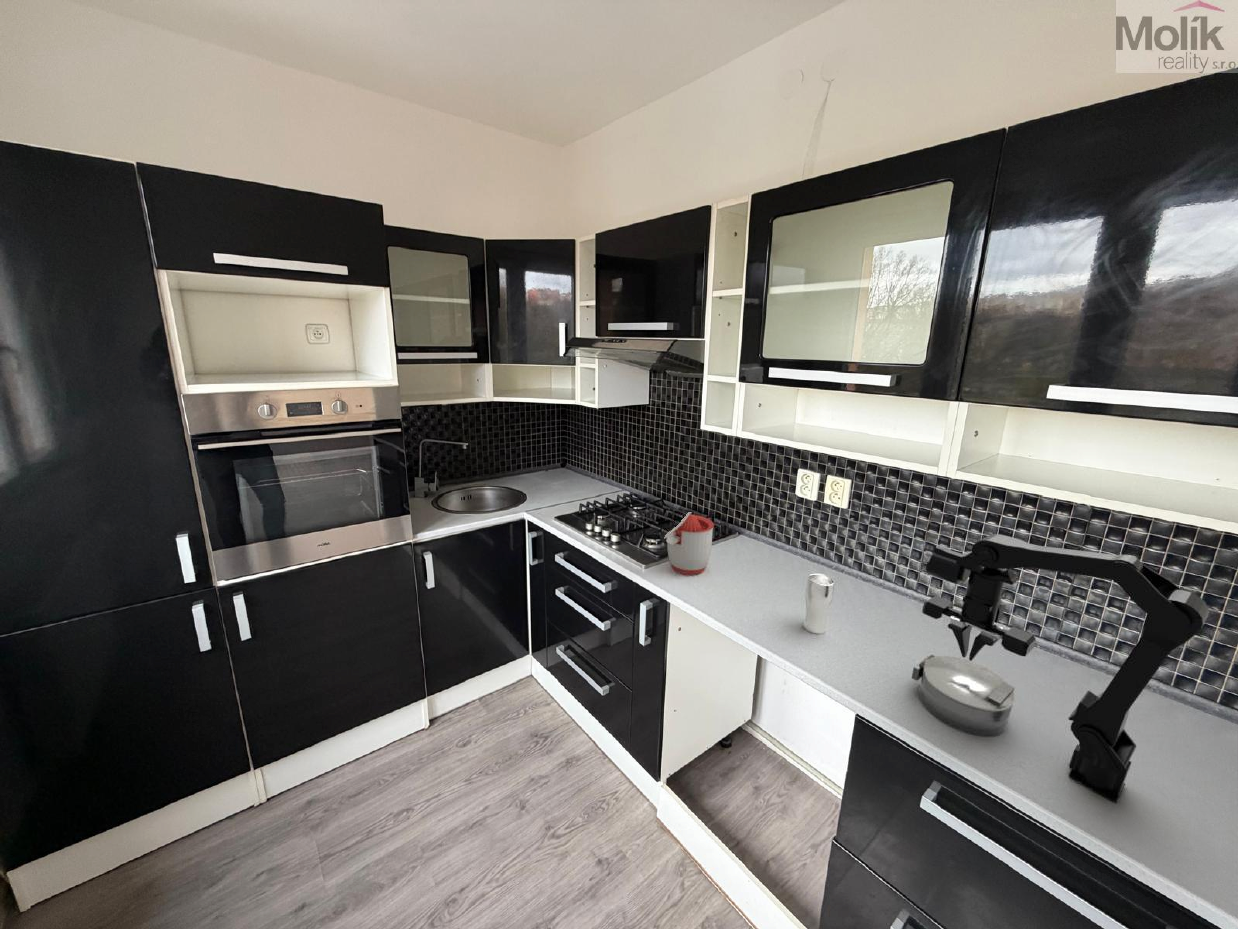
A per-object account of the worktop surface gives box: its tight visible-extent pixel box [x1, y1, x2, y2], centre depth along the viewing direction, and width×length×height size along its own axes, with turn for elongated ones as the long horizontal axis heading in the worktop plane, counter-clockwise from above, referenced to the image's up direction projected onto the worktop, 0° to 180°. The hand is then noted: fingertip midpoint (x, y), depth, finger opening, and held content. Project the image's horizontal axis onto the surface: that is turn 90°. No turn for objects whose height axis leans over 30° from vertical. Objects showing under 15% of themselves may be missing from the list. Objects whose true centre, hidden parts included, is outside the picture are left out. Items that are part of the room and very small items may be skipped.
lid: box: [919, 654, 1015, 711], centre depth 104 cm, size 16×16×2 cm
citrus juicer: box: [665, 513, 715, 576], centre depth 165 cm, size 16×17×20 cm
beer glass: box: [802, 573, 835, 635], centre depth 132 cm, size 7×7×15 cm
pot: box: [911, 655, 1014, 738], centre depth 106 cm, size 17×16×6 cm
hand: (967, 658), depth 104 cm, fingers closed
